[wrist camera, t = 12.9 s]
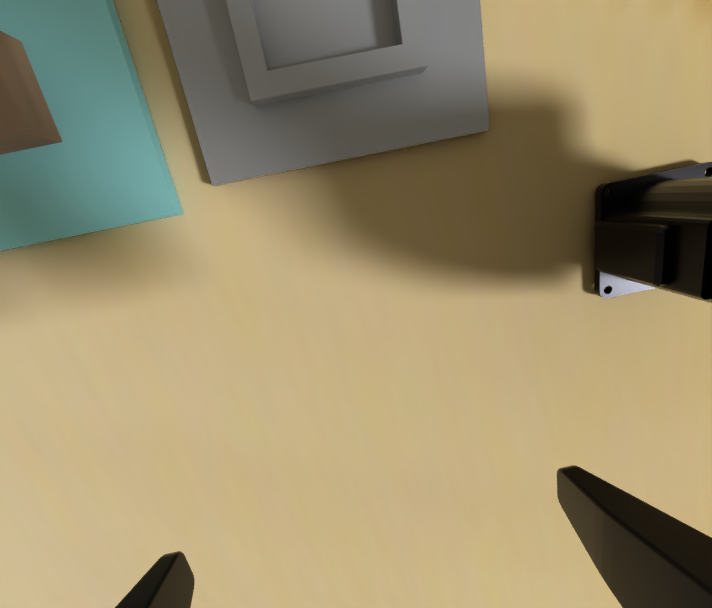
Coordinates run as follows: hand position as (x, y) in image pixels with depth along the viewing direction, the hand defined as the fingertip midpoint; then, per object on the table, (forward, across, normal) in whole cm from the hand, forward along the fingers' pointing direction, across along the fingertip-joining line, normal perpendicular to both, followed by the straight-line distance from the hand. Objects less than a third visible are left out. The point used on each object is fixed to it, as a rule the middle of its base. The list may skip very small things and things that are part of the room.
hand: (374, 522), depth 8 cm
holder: (+13, -2, -16) cm, 21 cm away
